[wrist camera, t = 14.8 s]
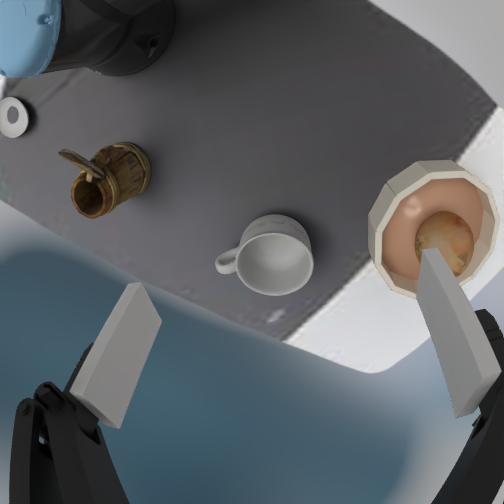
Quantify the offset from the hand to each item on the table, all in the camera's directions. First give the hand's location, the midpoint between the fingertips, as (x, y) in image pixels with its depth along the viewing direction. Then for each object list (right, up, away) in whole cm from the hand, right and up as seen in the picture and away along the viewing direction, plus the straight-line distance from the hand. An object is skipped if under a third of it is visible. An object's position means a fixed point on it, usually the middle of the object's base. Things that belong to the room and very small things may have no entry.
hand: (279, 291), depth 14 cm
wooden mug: (-20, +16, +30) cm, 39 cm away
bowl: (+28, +6, +30) cm, 41 cm away
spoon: (-56, +31, +26) cm, 69 cm away
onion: (+27, +6, +29) cm, 40 cm away
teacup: (+1, +4, +35) cm, 35 cm away
